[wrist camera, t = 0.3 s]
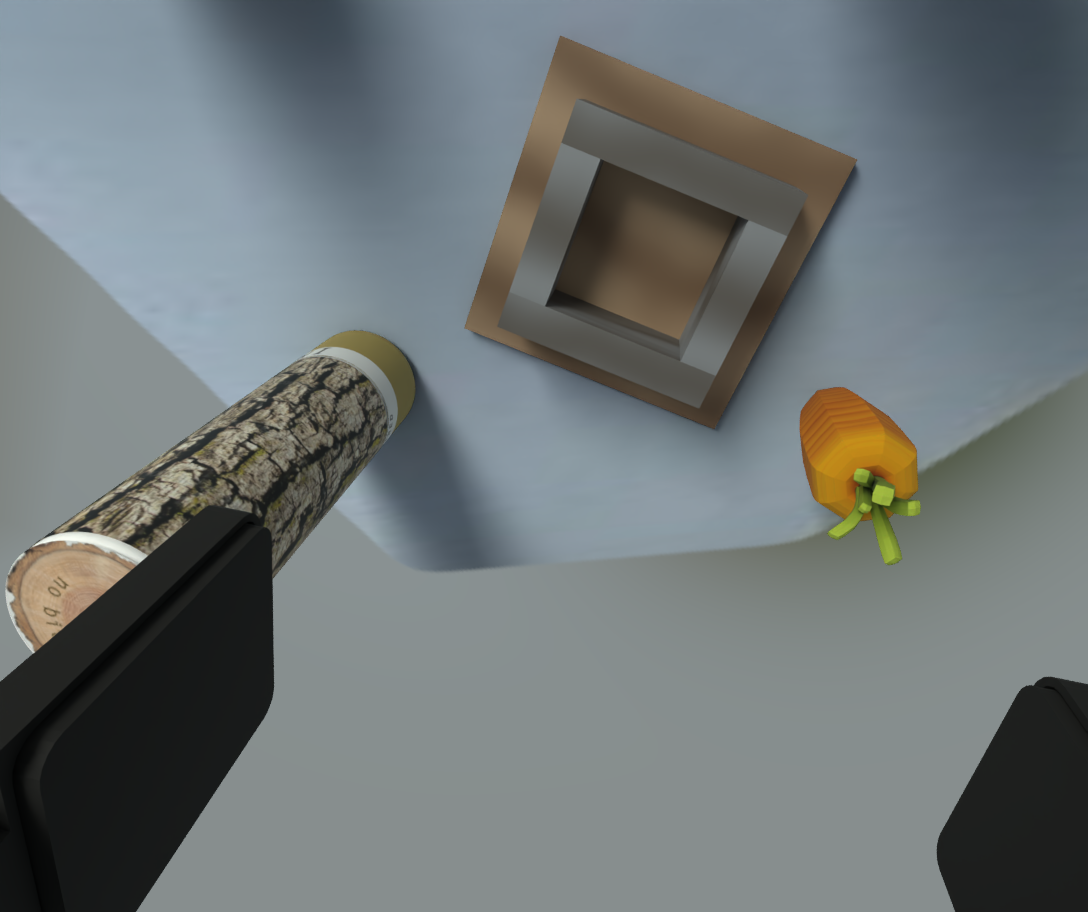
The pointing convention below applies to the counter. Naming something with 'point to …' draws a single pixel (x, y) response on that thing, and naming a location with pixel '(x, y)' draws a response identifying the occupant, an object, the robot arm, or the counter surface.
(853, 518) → the carrot
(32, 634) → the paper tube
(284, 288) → the counter surface
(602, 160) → the docking stand
